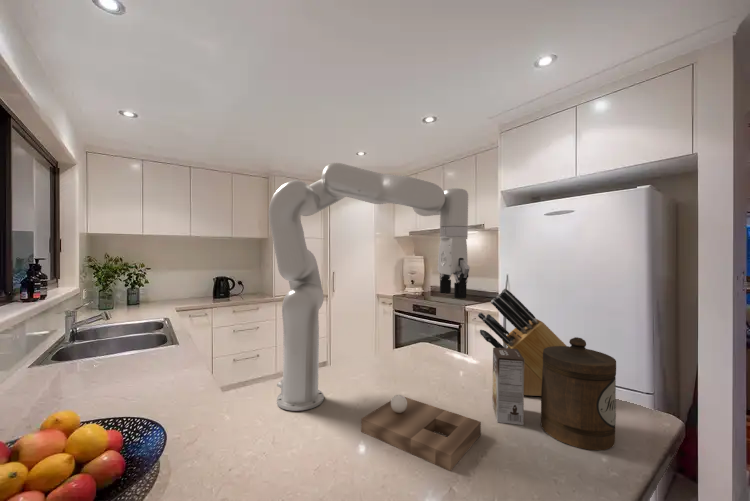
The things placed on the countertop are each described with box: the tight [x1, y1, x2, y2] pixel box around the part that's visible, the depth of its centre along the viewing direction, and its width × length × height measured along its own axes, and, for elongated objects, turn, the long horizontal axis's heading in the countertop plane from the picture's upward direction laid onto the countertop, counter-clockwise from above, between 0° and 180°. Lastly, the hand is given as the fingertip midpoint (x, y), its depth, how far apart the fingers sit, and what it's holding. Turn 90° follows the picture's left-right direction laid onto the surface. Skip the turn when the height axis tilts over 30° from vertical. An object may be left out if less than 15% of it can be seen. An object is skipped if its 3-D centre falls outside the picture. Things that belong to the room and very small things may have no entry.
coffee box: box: [492, 347, 525, 426], centre depth 85 cm, size 9×6×16 cm
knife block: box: [477, 288, 567, 397], centre depth 101 cm, size 11×35×31 cm, turn 82°
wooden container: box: [540, 336, 617, 451], centre depth 78 cm, size 15×15×22 cm
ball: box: [390, 394, 407, 413], centre depth 80 cm, size 4×4×4 cm
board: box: [360, 396, 482, 472], centre depth 76 cm, size 22×16×3 cm
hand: (452, 295), depth 92 cm, fingers open, 9 cm apart
